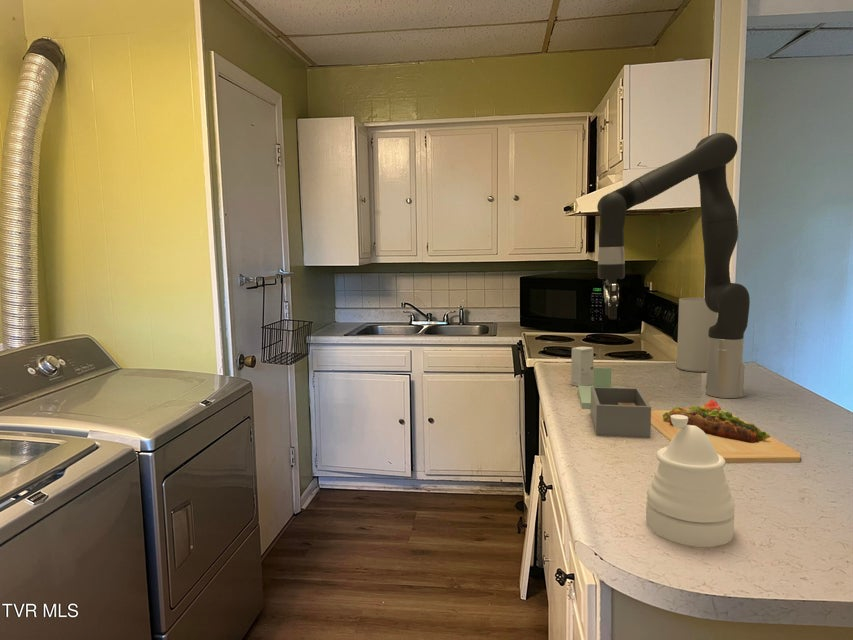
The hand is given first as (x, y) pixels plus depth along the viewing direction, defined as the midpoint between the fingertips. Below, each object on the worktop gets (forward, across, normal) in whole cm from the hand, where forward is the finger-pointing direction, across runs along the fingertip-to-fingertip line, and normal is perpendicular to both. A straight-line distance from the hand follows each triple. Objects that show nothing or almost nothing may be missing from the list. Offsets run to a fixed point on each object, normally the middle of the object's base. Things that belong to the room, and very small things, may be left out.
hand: (611, 317), depth 174 cm
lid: (+23, -10, +3) cm, 26 cm away
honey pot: (+23, -85, -3) cm, 88 cm away
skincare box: (+24, +11, +8) cm, 27 cm away
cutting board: (+24, -36, -18) cm, 48 cm away
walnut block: (+22, -30, 0) cm, 37 cm away
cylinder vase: (+24, +40, -34) cm, 58 cm away
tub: (+23, -34, +2) cm, 41 cm away
